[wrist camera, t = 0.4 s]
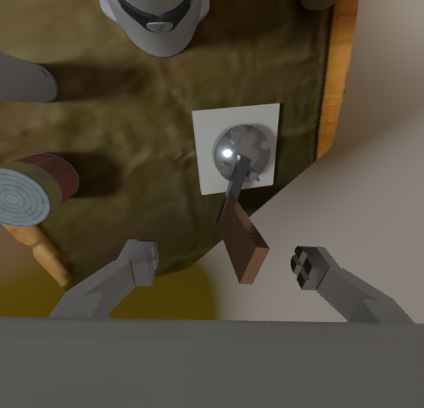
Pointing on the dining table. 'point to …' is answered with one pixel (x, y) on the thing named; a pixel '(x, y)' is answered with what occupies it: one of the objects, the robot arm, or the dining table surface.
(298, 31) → the dining table surface
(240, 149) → the silver brown l-shaped piece
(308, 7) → the squeeze bottle
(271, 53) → the dining table surface
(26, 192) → the canned food
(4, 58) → the travel mug
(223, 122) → the white square board
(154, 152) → the dining table surface
